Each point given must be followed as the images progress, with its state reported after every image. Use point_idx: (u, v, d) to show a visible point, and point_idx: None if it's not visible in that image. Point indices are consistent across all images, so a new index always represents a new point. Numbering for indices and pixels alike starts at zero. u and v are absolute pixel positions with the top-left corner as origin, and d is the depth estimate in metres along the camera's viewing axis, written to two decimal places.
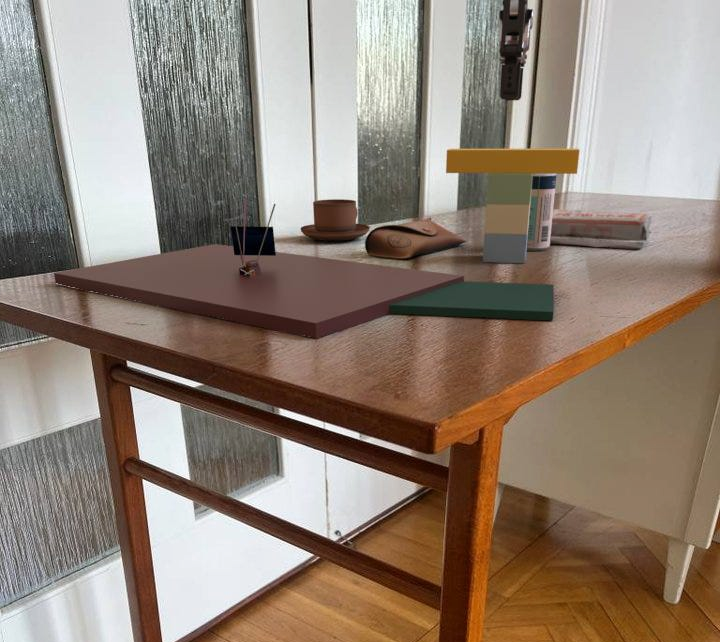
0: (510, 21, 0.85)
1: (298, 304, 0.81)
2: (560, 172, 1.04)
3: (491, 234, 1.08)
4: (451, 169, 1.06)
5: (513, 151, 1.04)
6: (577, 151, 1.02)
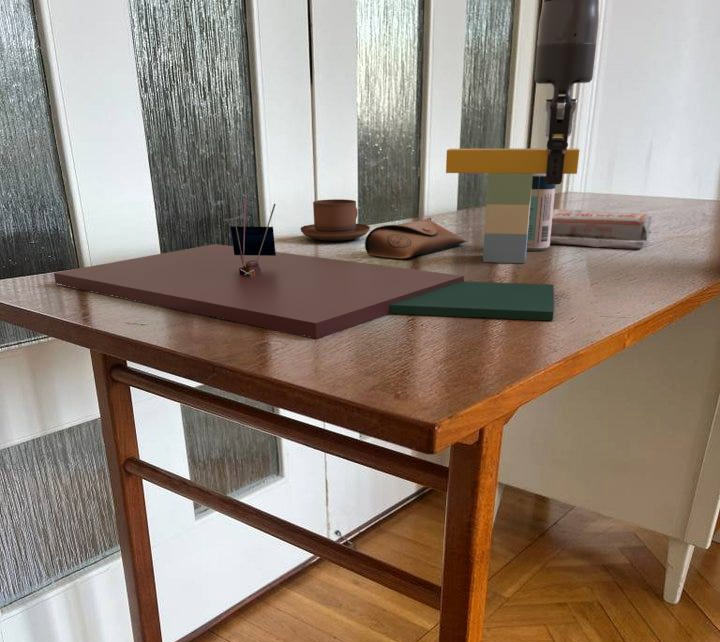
0: (556, 124, 0.98)
1: (298, 304, 0.81)
2: None
3: (491, 234, 1.08)
4: (451, 169, 1.06)
5: (513, 151, 1.04)
6: (577, 151, 1.02)
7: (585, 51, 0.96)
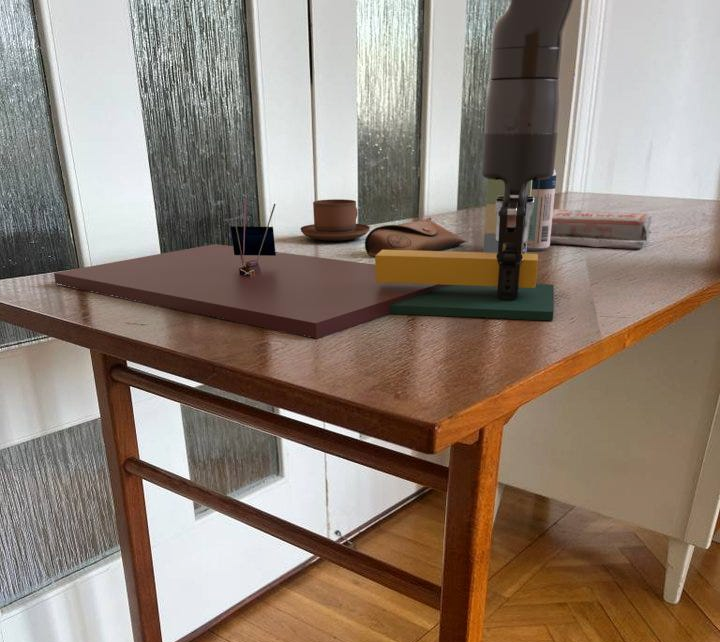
0: (507, 234, 0.77)
1: (298, 304, 0.81)
2: None
3: (491, 234, 1.08)
4: (382, 277, 0.86)
5: (456, 259, 0.83)
6: (535, 262, 0.82)
7: (543, 143, 0.76)
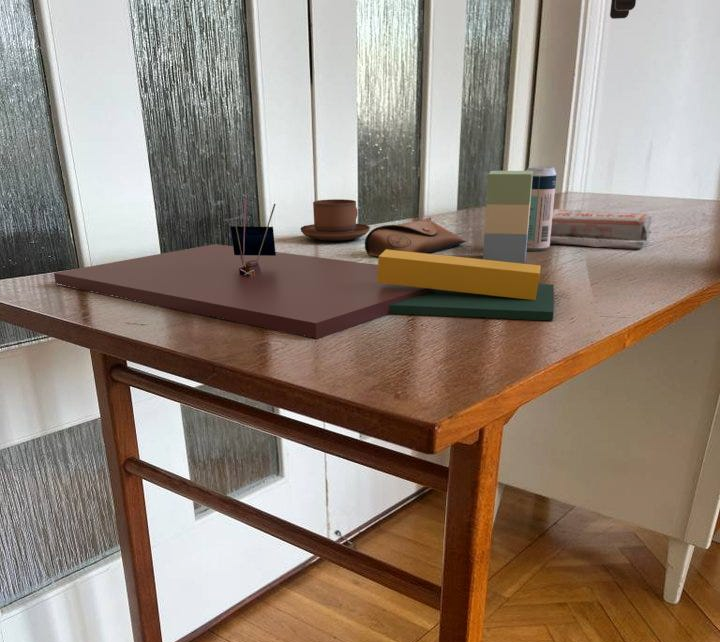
0: None
1: (298, 304, 0.81)
2: (515, 296, 0.84)
3: (491, 234, 1.08)
4: (384, 279, 0.86)
5: (459, 266, 0.84)
6: (537, 274, 0.82)
7: None
